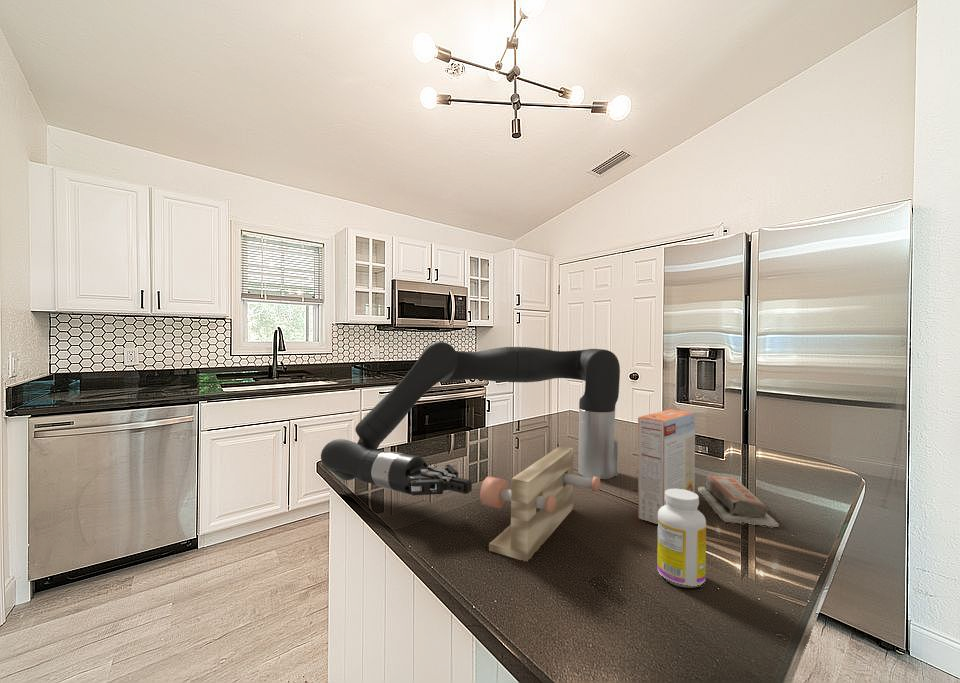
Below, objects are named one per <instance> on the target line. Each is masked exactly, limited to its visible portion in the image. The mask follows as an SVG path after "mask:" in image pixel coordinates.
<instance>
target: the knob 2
mask: <svg viewBox="0 0 960 683" xmlns="http://www.w3.org/2000/svg"><path fill="white" fill-rule="evenodd" d="M537 461H538V460H537ZM537 461H535V462H537ZM563 483H564V484H569V485H573V487H574V486H575V487H580V488H585V489H591V491H592V492H594V493H599V492H600V488H601V479H600V477H596V476H594V477H593V478H589V477H585V476H582V475H578V474H577V475H576V474H573V475H572V474H567V473H563Z"/></svg>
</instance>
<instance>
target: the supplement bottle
mask: <svg viewBox="0 0 960 683" xmlns="http://www.w3.org/2000/svg"><path fill="white" fill-rule="evenodd" d="M665 501H666V505H664V506H662V507H661V508H660V509H659V511H658V526H657V547H656V548H657V550H656V551H657V554H656V556H657V558H656V559H657V561H656V562H657V564H656V567H657V568H656V569H657V572H659V573H658V575H659V574H660V575H661V576H663V577H664V578H666V579H668V580H670V581H672V582H675V583H679V584H683V585H688V586H689V585H690V586H697V585H701V584H703V583H704V582H706V573H707V571H706V570H707V519H706V517H705V515H704V514H703V513H702V512H701V511H700V510H699V509H698V507H699V505H700V496H699V495H698V494H697V493H696V492H695V493H693V492H691V491H688V490H683V489H667V490H666V491H665ZM660 575H659V576H660ZM661 576H660V577H661ZM704 584H705V583H704Z"/></svg>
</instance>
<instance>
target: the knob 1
mask: <svg viewBox="0 0 960 683" xmlns="http://www.w3.org/2000/svg"><path fill="white" fill-rule="evenodd" d="M479 498H480V502H481V504H482V505H483V506H488V507H491V508H495V509H501V508H503V507H504V505H505V503H506V502H509V503H511V489H509V488H508V483H507V480H506V479H503V478H498V477H494V476H486V477H485V478H484V480H483V481H482V483H481V487H480V492H479ZM536 508H539V509H543V510H545V512H546V513H549V514H553V513H554V512H555V509H556V498H555V497H554V496H547V498H546V497H542V496H537V499H536Z"/></svg>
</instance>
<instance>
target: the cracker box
mask: <svg viewBox="0 0 960 683" xmlns="http://www.w3.org/2000/svg"><path fill="white" fill-rule="evenodd" d="M637 424H638V425H637V428H638V430H637V438H638V439H637V442H638V443H637V466H638V467H637V478H638V480H637V481H638V482H637V519H638V518H639V519H638V520H640V519H642V520H641V521H643V520H645V521H644V522H646V521H649V522H652V523H655V524H658V511H659V509H660V508H661V507H662V506H664V505H666V501H665V491H666V490H667V489H683V490H688V491H691V492H693V493H695V494H696V492H695V489H696V488H695V481H696V478H695V477H696V476H695V474H696V473H695V471H696V465H695V464H696V463H695V462H696V449H695V448H696V412H695V411H687V410H680V409H673V408H672V409H671V408H670V409H666V410H661V411H658V412H653V413H650V414H646V415H642V416H638V418H637ZM649 522H648V523H649Z"/></svg>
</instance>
